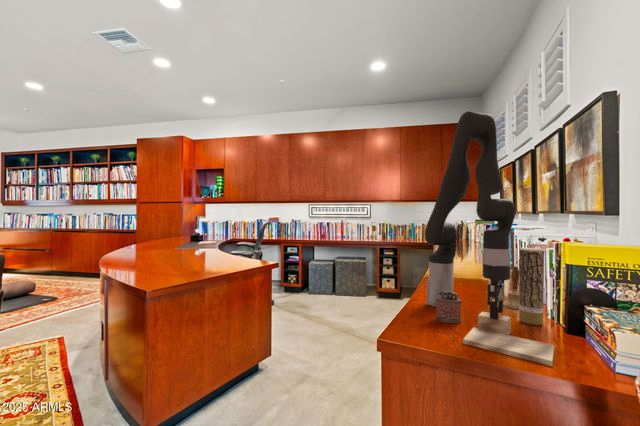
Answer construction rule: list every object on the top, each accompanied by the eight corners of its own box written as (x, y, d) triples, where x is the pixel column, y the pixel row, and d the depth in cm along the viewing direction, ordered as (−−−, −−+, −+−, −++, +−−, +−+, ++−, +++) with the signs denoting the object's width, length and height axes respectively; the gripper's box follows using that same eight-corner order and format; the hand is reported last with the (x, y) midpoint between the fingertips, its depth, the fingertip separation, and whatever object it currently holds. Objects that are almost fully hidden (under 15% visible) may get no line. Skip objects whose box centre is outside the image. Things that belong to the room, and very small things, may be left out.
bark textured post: (547, 326, 101) (548, 250, 101) (524, 325, 102) (525, 249, 102) (537, 320, 108) (537, 248, 108) (515, 318, 109) (516, 247, 109)
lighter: (460, 320, 106) (460, 291, 106) (461, 323, 103) (462, 293, 103) (435, 317, 108) (435, 289, 108) (435, 320, 105) (436, 291, 105)
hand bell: (526, 305, 125) (527, 266, 125) (527, 310, 118) (527, 269, 118) (502, 302, 130) (503, 264, 130) (502, 307, 123) (502, 266, 123)
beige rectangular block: (477, 331, 97) (477, 315, 97) (482, 326, 100) (482, 311, 100) (507, 338, 91) (507, 321, 91) (510, 333, 95) (510, 317, 95)
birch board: (463, 343, 87) (463, 339, 87) (473, 331, 96) (473, 327, 96) (552, 366, 74) (552, 361, 74) (554, 349, 83) (554, 345, 83)
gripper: (487, 259, 104) (487, 308, 103) (477, 264, 93) (478, 318, 92) (513, 261, 99) (513, 312, 99) (506, 266, 88) (507, 324, 88)
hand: (496, 315), depth 96 cm, fingers open, 8 cm apart
